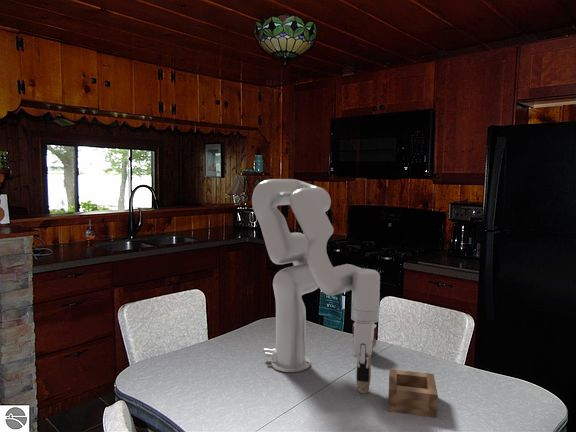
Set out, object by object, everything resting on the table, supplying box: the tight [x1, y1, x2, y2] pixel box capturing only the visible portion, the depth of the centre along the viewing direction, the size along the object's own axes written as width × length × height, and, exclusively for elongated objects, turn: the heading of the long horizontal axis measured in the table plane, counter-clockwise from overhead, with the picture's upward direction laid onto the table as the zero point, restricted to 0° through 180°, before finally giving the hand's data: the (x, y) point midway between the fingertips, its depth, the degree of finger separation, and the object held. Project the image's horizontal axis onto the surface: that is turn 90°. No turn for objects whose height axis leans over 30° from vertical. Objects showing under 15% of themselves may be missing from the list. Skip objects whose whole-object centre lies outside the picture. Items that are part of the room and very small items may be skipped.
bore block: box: [387, 368, 439, 418], centre depth 118 cm, size 12×12×6 cm
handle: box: [352, 338, 377, 394], centre depth 123 cm, size 5×6×15 cm
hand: (363, 376), depth 124 cm, fingers closed on handle, 3 cm apart
